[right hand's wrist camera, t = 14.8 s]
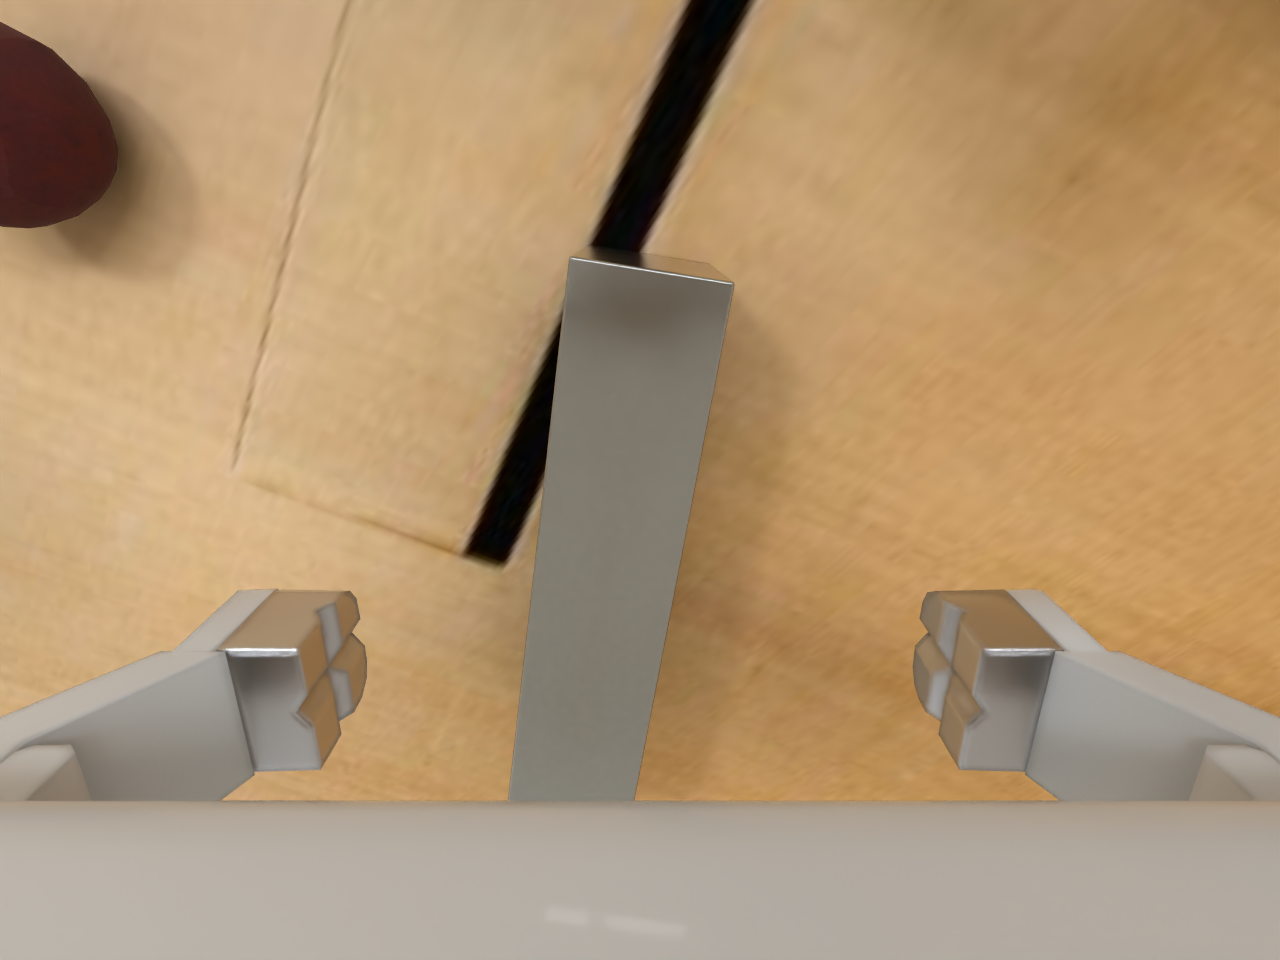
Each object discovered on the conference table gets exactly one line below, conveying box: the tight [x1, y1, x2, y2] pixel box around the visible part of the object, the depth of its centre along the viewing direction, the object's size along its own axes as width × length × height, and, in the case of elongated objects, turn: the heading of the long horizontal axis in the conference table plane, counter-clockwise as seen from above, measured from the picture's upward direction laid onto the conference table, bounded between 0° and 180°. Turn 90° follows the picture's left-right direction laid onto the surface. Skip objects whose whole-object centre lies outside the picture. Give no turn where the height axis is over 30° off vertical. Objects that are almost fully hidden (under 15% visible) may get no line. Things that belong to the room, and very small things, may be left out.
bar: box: [508, 245, 734, 801], centre depth 34 cm, size 27×6×10 cm, turn 171°
